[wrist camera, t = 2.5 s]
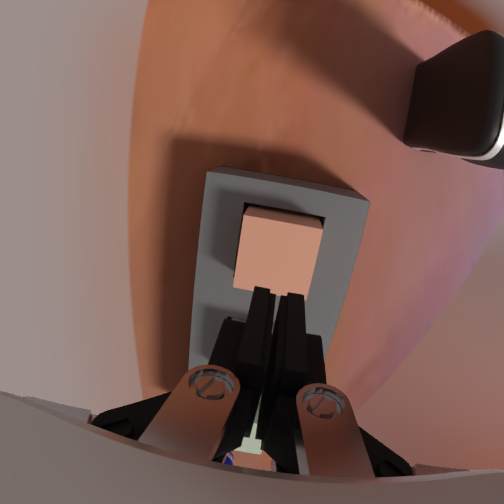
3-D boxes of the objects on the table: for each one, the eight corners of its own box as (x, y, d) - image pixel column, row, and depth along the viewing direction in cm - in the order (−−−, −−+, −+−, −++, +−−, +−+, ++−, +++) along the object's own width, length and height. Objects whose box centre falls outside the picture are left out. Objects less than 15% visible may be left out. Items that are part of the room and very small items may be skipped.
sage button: (263, 428, 28) (260, 454, 24) (217, 420, 28) (211, 445, 25) (272, 398, 26) (270, 425, 23) (222, 389, 26) (215, 415, 23)
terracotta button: (304, 278, 22) (306, 300, 19) (240, 267, 22) (232, 287, 19) (318, 216, 21) (323, 229, 18) (250, 203, 21) (243, 214, 18)
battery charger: (442, 162, 21) (539, 186, 10) (399, 146, 21) (484, 157, 10) (457, 79, 18) (552, 56, 8) (415, 61, 19) (498, 17, 8)
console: (289, 423, 31) (287, 452, 27) (195, 406, 31) (185, 433, 27) (357, 191, 22) (370, 201, 19) (220, 166, 23) (206, 171, 19)
